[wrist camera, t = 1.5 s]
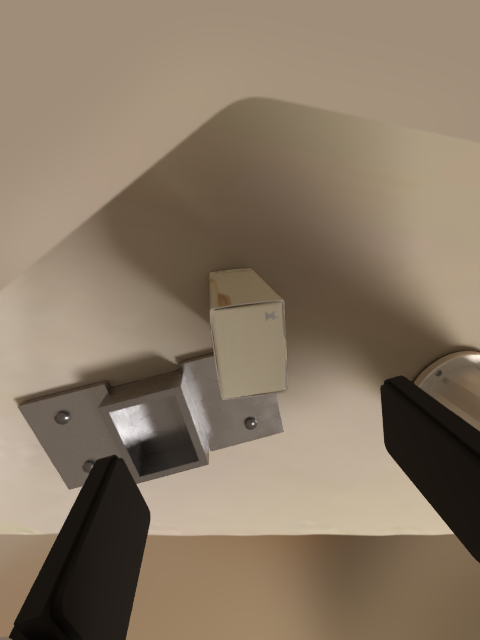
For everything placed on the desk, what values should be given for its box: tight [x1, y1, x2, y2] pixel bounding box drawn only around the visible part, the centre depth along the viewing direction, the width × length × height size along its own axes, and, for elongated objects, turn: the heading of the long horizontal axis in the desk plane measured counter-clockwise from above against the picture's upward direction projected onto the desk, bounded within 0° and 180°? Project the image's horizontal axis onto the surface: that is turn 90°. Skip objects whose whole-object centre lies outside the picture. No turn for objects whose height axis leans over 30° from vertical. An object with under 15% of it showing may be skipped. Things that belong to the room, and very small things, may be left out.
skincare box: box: [209, 268, 288, 400], centre depth 21 cm, size 6×4×12 cm
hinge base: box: [18, 353, 284, 490], centre depth 28 cm, size 26×12×4 cm, turn 103°
